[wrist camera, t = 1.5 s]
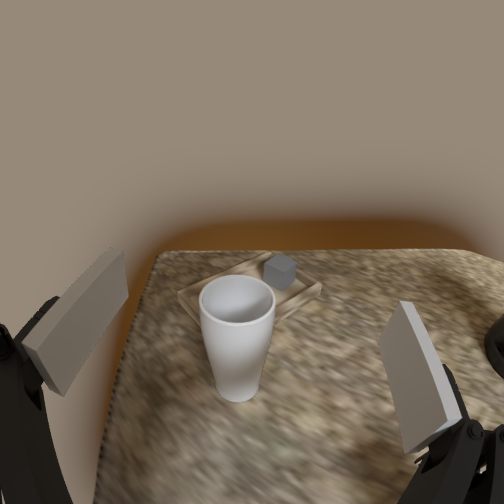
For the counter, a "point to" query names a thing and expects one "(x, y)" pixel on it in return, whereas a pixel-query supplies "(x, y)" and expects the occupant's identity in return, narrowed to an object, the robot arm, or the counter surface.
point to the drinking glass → (237, 332)
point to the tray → (286, 300)
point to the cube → (279, 272)
